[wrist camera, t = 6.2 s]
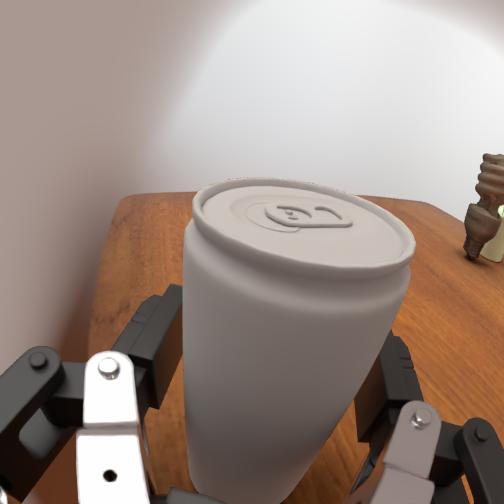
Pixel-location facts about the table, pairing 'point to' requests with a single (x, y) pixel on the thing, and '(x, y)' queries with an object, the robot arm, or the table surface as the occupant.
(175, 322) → the robot arm
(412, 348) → the table surface
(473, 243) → the light bulb
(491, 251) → the candle
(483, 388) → the table surface
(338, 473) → the table surface
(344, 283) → the beverage can
